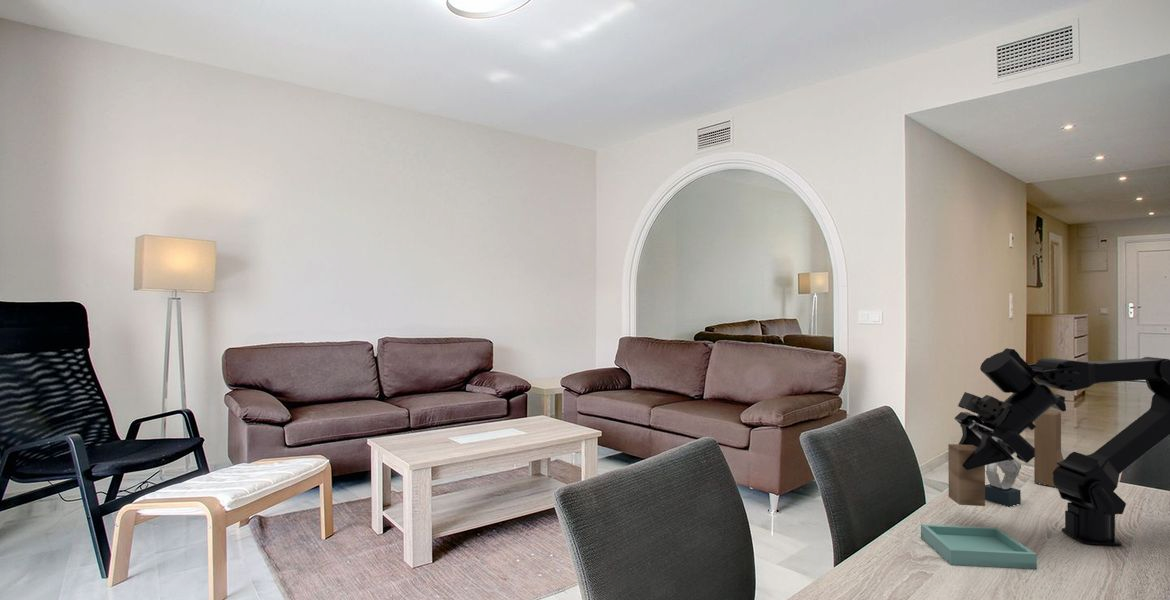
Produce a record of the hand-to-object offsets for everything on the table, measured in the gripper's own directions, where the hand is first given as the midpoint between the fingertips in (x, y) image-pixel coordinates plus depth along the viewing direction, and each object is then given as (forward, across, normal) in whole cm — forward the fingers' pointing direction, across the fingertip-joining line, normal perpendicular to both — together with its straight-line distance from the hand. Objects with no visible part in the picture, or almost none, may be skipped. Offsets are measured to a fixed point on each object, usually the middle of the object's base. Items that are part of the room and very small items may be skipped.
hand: (958, 464), depth 113 cm
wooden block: (-17, -35, +36) cm, 53 cm away
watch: (-3, -21, +23) cm, 31 cm away
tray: (+10, +8, +9) cm, 16 cm away
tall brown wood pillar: (+4, 0, +6) cm, 7 cm away
